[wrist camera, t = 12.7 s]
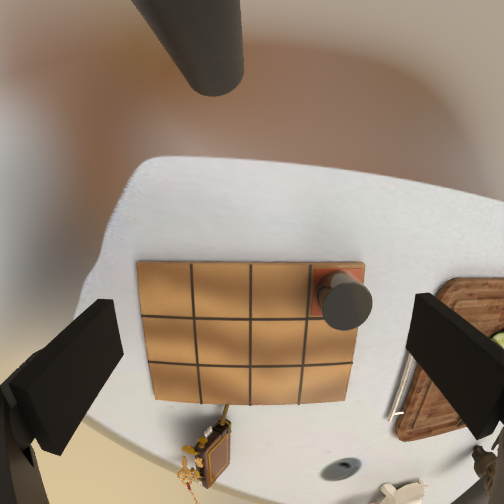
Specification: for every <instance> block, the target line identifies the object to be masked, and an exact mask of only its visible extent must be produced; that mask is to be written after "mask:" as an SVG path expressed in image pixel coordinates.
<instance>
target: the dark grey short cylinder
mask: <svg viewBox="0 0 504 504" xmlns="http://www.w3.org/2000/svg"><path fill="white" fill-rule="evenodd" d="M314 296H315V302H316V304H317V306H318V308H319V310H320V312H321V314H322V316H323V318H324V320H325V322H326V323H327V324H328V325H329V326H330V327H332V328H333V329H336V330H340V331H348V330H352V329H355V328H357V327H359V326H360V325H361V324H363V323H364V322H365V321H366V319H367V318H368V316H369V314H370V312H371V309H372V296H371V294H370V292H369V290H368V289H367V288H366V287H365V286H364V285H363V284H362V283H361V282H360V281H359V280H358V279H357V278H356V277H355V276H354V275H353V274H351V273H349V272H347V271H344V270H336V271H332V272H330V273H328V274H326V275H325V276H323V277H322V278H321V279H320V281H319V282H318V284H317V286H316V289H315V295H314Z"/></svg>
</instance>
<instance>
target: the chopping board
mask: <svg viewBox="0 0 504 504" xmlns="http://www.w3.org/2000/svg"><path fill="white" fill-rule="evenodd" d="M436 298H437V299H439V300H440V301H441V302H443V303H444V304H445V305H447V306H448V307H449V308H451V309H452V310H453V311H455V312H456V313H457V314H459V315H460V316H461V317H463V318H464V319H465V320H467V321H468V322H469V323H470V324H472V325H473V326H474V327H476V328H477V329H478V330H479V331H481V332H482V333H483V334H484V335H486V336H487V337H488V338H489V339H492V340H494V341H496V342H497V343H498V344H499V345H501V346H502V347H503V349H504V278H455V279H451V280H450V281H448V282H447V283H446V284H444V285H443V287H442V288H441V289H440V291H439V292H438V293H437V296H436ZM413 360H414V358H413V356H412V355H411V354H410V353H409V356H408V360H407V363H406V366H405V370H404V373H403V376H402V379H401V382H400V385H399V388H398V391H397V394H396V397H395V400H394V403H393V406H392V408H391V411H390V414H389V416H388V419H387V421H388V422H392V420H393V418H394V415H399V414H400V415H399V418H398V420H397V423H396V425H395V432H396V435H397V436H398V438H399V440H401V441H403V442H407V441H414V440H419V439H423V438H427V437H431V436H435V435H439V434H443V433H447V432H450V431H454V430H457V429H461V428H464V427H467V426H466V425H465V423H464V422H463V421H462V419H461V418H460V417H459V415H458V414H457V413H456V411H455V410H454V409H453V407H452V406H451V405H450V403H449V402H448V401H447V399H446V398H445V397H444V396H443V394H442V393H441V392H440V390H439V389H438V388H437V386H436V385H435V384H434V383H433V381H432V380H431V379H430V378H429V376H428V375H427V374H426V373H425V371H424V370H423V369H422V368H421V366H420V365H419V364H417V368H416V371H415V374H414V377H413V380H412V383H411V386H410V389H409V391H408V394H407V397H406V400H405V402H404V405H403V408H402V410H401V411H396V410H397V407H398V405H399V402H400V399H401V396H402V394H403V391H404V388H405V385H406V382H407V379H408V376H409V373H410V369H411V366H412V363H413Z"/></svg>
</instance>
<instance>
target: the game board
mask: <svg viewBox="0 0 504 504" xmlns="http://www.w3.org/2000/svg"><path fill="white" fill-rule="evenodd" d="M136 264H137V276H138V286H139V296H140V304H141V313H142V314H141V317H142V321H143V328H144V335H145V342H146V349H147V355H148V363H149V367H150V372H151V378H152V383H153V389H154V394H155V399H156V400H165V401H176V402H188V403H200V404H225V405H226V403H227V402H228V403H229V405H249V406H251V405H285V404H298V405H300V404H307V403H322V402H335V401H344V400H345V397H346V392H347V387H348V382H349V377H350V372H351V366H352V364H353V362H352V361H353V355H354V349H355V343H356V336H357V330H358V327H357V328H355V329H352V330H348V331H340V330H336V329H333V328H332V327H330V326H329V325H328V324H327V323H326V322H325V320H324V318H323V316H322V314H321V312H320V310H319V308H318V306H317V304H316V302H315V296H314V295H315V289H316V286H317V284H318V282H319V281H320V279H321V278H322V277H323V276H325V275H326V274H328V273H330V272H332V271H336V270H344V271H347V272H349V273H351V274H353V275H354V276H355V277H356V278H357V279H358V280H359V281H360V282H361V283H362V284H363V283H364V273H365V264H364V263H363V262H192V261H139V262H137V263H136Z"/></svg>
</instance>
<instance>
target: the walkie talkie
mask: <svg viewBox="0 0 504 504" xmlns="http://www.w3.org/2000/svg"><path fill="white" fill-rule="evenodd" d="M228 407H229V403H228V402H227V403H226V405H225V407H224V410H223V414H222V418H220V419H218V420H217V422H216V423H215V424H214V425H213V426H212V427H211V426H209V429H207V431H204V437H200V438H199V439H198V441H197V444H196V445H195V446H194V449H193V447H191V446H184V447H182V451H184V452H186V453H188V454H191V455H195V462H196V470H194V468H193V467H192V468H191V470H189V469H188V468H187V466H186V465H187V460H186V458H185V456H182V457H183V459H182V465H183V467H182V469H181V471H178V472H177V477H178V478H179V479H181V481H182V483H183V484H184V485H187V486H188V489H189V491H192V490H191V488H190V484H191V483H192V481H193V480H194V479H195V476H196V477H197V479H198V482H199V484H200V485H201V486H203V487H205V488H207V489H208V488H209V487H210V486H211V485H212V484H213V483H214V482H215V481H216V479H217V478H218V477H219V476H220V475H221V474H222V472H223V471H224V470H225V469H226V468H227V467H228V465H229V461H230V433H231V422H230V421H229V420H227V419H225V418H226V414H227V411H228ZM181 472H185V474H179V473H181ZM187 472H188V473H190V474H187ZM192 472H194V474H195V475H194V474H193V473H192ZM179 475H180V476H185V478H180V476H179ZM187 476H193V479H189V478H188V477H187ZM184 479H188V480H189V481H190V483H188V482H187V484H186V483H184V481H183V480H184ZM191 493H192V492H191ZM192 495H193V493H192ZM194 499H195V497H194ZM195 500H196V499H195ZM196 503H197V501H196ZM197 504H198V503H197Z"/></svg>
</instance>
